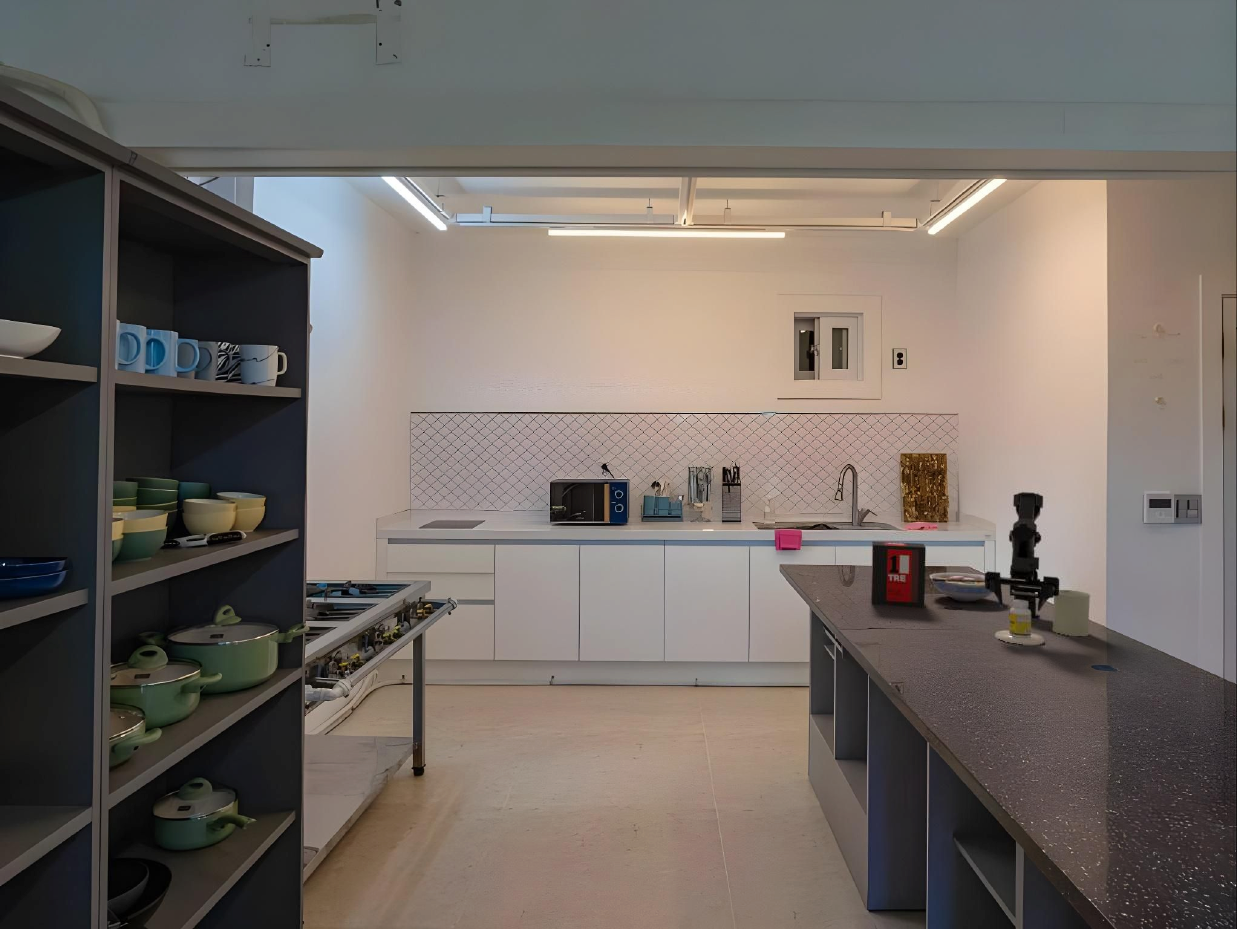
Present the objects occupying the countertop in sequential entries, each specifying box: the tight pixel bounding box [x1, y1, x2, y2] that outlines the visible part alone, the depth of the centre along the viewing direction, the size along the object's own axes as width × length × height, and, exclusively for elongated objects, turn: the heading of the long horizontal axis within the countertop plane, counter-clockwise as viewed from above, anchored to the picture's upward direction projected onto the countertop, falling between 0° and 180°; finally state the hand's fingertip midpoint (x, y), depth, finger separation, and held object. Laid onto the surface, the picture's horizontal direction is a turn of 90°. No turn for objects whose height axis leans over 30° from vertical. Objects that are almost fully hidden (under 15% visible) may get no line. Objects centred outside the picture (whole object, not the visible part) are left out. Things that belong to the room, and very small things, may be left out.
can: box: [1051, 589, 1091, 637], centre depth 226 cm, size 9×9×12 cm
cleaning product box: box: [870, 541, 927, 608], centre depth 263 cm, size 16×9×20 cm, turn 73°
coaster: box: [994, 630, 1045, 646], centre depth 217 cm, size 12×12×1 cm
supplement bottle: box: [1008, 599, 1032, 638], centre depth 217 cm, size 5×5×10 cm
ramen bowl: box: [929, 572, 994, 603], centre depth 270 cm, size 25×23×8 cm
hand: (1019, 608), depth 216 cm, fingers open, 9 cm apart
